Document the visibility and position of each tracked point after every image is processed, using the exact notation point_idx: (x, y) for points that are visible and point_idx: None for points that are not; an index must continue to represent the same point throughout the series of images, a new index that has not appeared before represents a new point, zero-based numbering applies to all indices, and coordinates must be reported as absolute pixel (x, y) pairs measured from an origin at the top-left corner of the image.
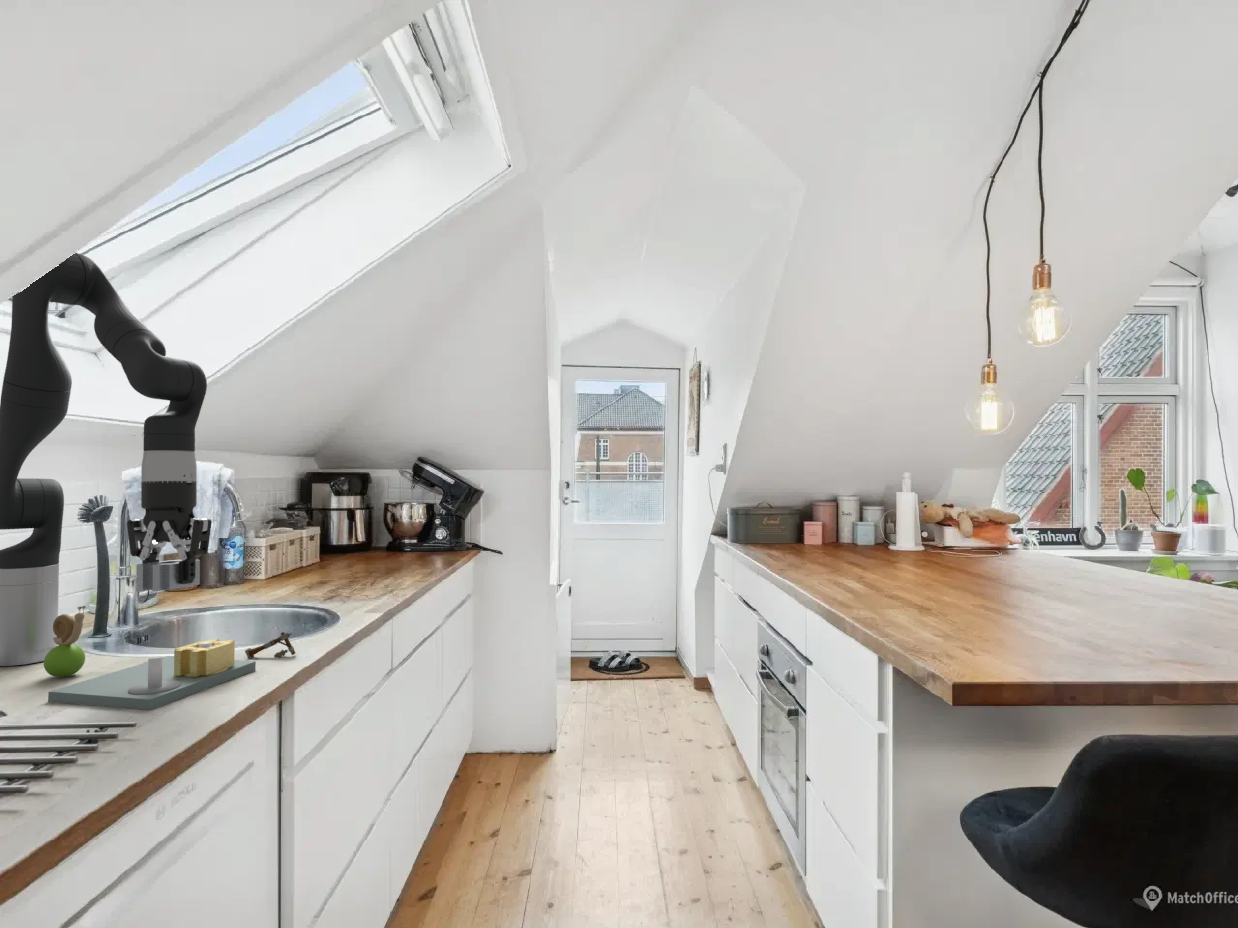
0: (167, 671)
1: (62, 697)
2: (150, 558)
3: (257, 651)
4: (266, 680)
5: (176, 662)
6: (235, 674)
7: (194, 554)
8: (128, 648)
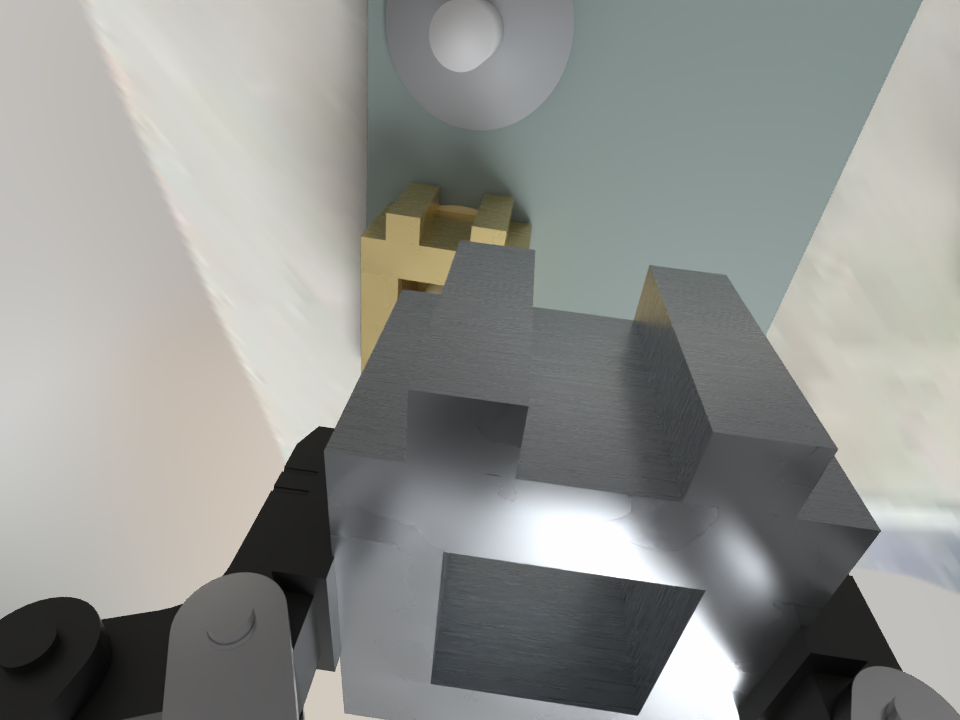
0: (588, 261)
1: None
2: (810, 712)
3: None
4: (253, 266)
5: (498, 211)
6: None
7: (24, 620)
8: (952, 576)
